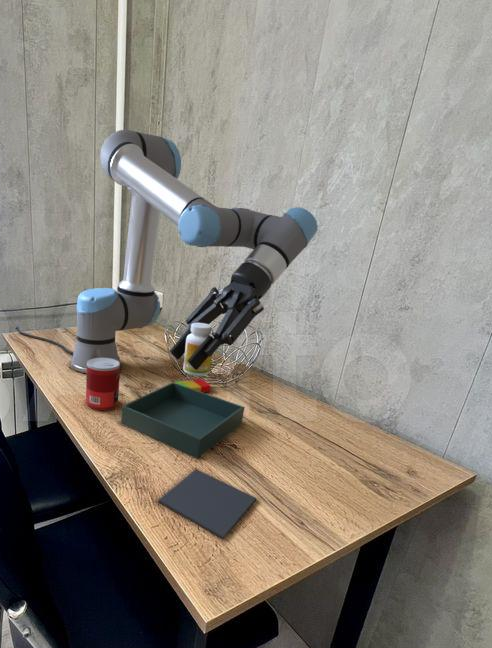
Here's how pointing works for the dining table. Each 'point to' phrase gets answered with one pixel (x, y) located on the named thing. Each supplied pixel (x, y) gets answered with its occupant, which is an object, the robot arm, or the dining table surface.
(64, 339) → the dining table surface
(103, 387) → the canned food
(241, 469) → the dining table surface
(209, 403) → the dark green tray
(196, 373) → the supplement bottle
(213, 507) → the mat
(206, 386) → the popsicle
